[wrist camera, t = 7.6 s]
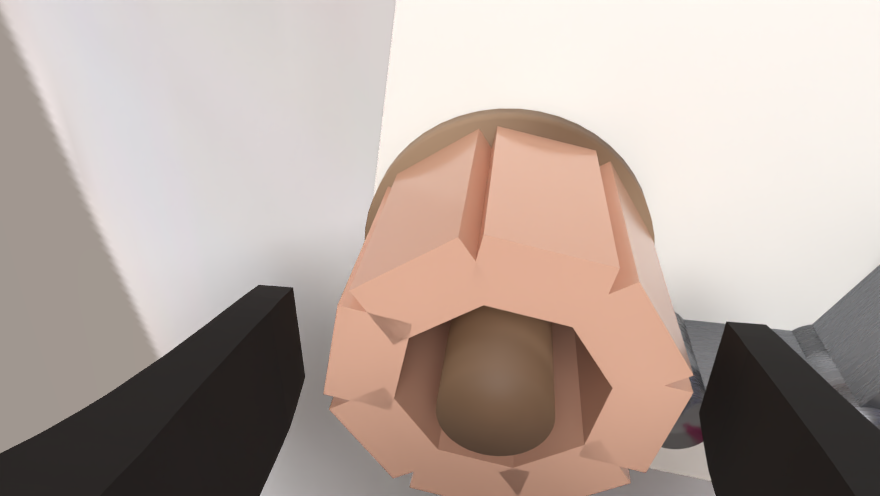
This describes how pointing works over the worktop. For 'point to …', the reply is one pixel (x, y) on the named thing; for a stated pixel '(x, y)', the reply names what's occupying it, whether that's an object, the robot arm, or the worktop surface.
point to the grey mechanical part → (820, 344)
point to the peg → (494, 330)
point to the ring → (519, 291)
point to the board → (685, 131)
